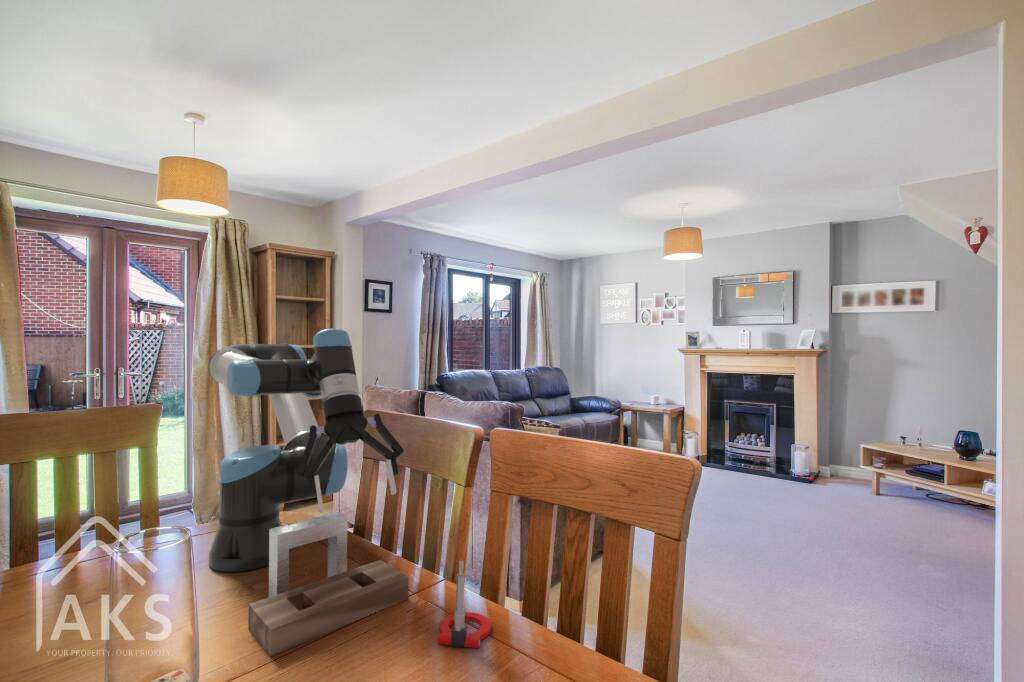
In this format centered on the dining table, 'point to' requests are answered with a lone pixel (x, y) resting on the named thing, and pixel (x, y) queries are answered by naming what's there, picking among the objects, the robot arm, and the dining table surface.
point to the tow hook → (462, 621)
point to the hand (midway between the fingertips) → (358, 502)
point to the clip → (300, 535)
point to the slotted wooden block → (325, 605)
